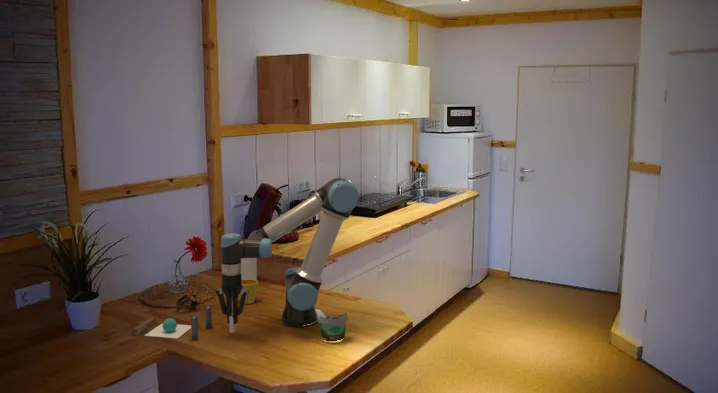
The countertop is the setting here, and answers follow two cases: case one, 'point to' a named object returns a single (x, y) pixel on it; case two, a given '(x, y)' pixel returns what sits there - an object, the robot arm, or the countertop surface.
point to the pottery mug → (187, 301)
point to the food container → (333, 327)
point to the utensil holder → (249, 268)
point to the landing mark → (175, 334)
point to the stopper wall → (144, 326)
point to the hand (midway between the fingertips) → (232, 331)
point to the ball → (169, 325)
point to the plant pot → (249, 290)
